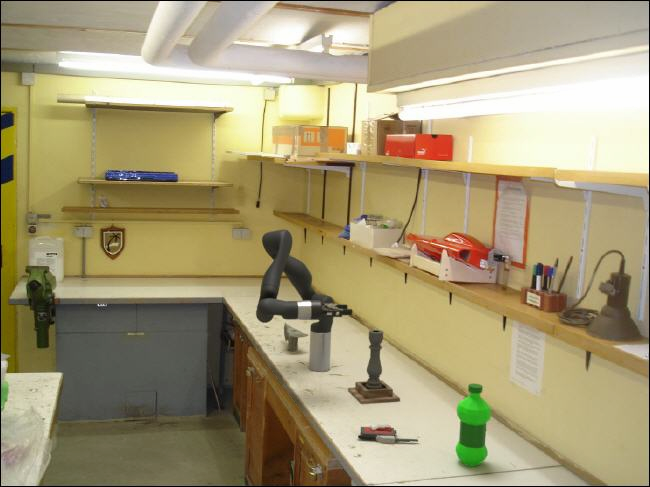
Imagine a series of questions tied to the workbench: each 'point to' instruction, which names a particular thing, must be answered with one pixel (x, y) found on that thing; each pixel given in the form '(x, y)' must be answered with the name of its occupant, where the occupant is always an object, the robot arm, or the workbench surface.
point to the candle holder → (374, 360)
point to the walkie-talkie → (381, 434)
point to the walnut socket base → (373, 393)
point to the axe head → (292, 336)
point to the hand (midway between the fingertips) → (349, 309)
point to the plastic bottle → (473, 427)
